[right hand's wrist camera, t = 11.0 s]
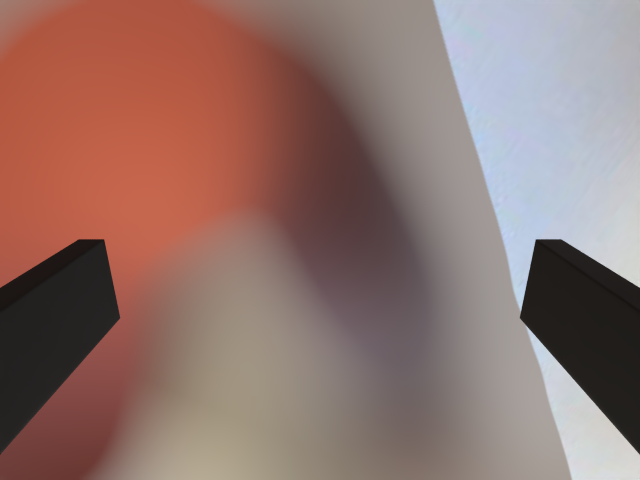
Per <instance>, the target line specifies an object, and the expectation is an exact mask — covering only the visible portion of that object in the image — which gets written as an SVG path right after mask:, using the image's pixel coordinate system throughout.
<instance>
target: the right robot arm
mask: <svg viewBox="0 0 640 480" xmlns="http://www.w3.org/2000/svg"><path fill="white" fill-rule="evenodd" d="M119 319H120V315H119V310H118V305H117V300H116V295H115V291H114V286H113V281H112V276H111V271H110V266H109V261H108V256H107V251H106V246H105V242H104V239H79V240H77V241H76V242H74V243H72V244H71V245H69V246H68V247H66V248H64V249H63V250H61V251H59V252H58V253H56V254H55V255H53V256H51V257H50V258H48V259H46V260H45V261H43V262H41V263H40V264H38V265H37V266H35V267H33V268H32V269H30V270H28V271H27V272H25V273H24V274H22V275H20V276H19V277H17V278H16V279H14V280H12V281H11V282H9V283H7V284H6V285H4V286H3V287H1V288H0V454H1V453H2V452H3V451H4V450H5V448H6V447H7V446H8V445H9V444H10V443H11V442H12V440H13V439H14V438H15V437H16V436H17V435H18V434H19V433H20V431H21V430H22V429H23V428H24V427H25V426H26V425H27V423H28V422H29V421H30V420H31V419H32V418H33V417H34V415H35V414H36V413H37V412H38V411H39V410H40V409H41V408H42V406H43V405H44V404H45V403H46V402H47V401H48V400H49V398H50V397H51V396H52V395H53V394H54V393H55V392H56V390H57V389H58V388H59V387H60V386H61V385H62V384H63V383H64V381H65V380H66V379H67V378H68V377H69V376H70V375H71V373H72V372H73V371H74V370H75V369H76V368H77V367H78V365H79V364H80V363H81V362H82V361H83V360H84V359H85V357H86V356H87V355H88V354H89V353H90V352H91V351H92V350H93V348H94V347H95V346H96V345H97V344H98V343H99V342H100V340H101V339H102V338H103V337H104V336H105V335H106V334H107V332H108V331H109V330H110V329H111V328H112V327H113V326H114V325H115V323H116V322H117V321H118V320H119ZM520 319H521V320H522V321H523V322H524V323H525V325H526V326H527V327H528V328H529V329H530V330H531V331H532V332H533V334H534V335H535V336H536V337H537V338H538V339H539V340H540V342H541V343H542V344H543V345H544V346H545V347H546V348H547V350H548V351H549V352H550V353H551V354H552V355H553V356H554V357H555V359H556V360H557V361H558V362H559V363H560V364H561V365H562V367H563V368H564V369H565V370H566V371H567V372H568V373H569V375H570V376H571V377H572V378H573V379H574V380H575V381H576V383H577V384H578V385H579V386H580V387H581V388H582V389H583V390H584V392H585V393H586V394H587V395H588V396H589V397H590V398H591V400H592V401H593V402H594V403H595V404H596V405H597V406H598V408H599V409H600V410H601V411H602V412H603V413H604V414H605V415H606V417H607V418H608V419H609V420H610V421H611V422H612V423H613V425H614V426H615V427H616V428H617V429H618V430H619V431H620V433H621V434H622V435H623V436H624V437H625V438H626V439H627V440H628V442H629V443H630V444H631V445H632V446H633V447H634V448H635V450H636V451H637V452H638V453H639V454H640V288H639V287H637V286H636V285H634V284H633V283H631V282H629V281H628V280H626V279H624V278H623V277H621V276H620V275H618V274H616V273H615V272H613V271H611V270H610V269H608V268H607V267H605V266H603V265H602V264H600V263H599V262H597V261H595V260H594V259H592V258H590V257H589V256H587V255H586V254H584V253H582V252H581V251H579V250H577V249H576V248H574V247H573V246H571V245H569V244H568V243H566V242H564V241H563V240H561V239H536V242H535V246H534V251H533V256H532V261H531V266H530V271H529V276H528V281H527V286H526V290H525V295H524V300H523V305H522V310H521V315H520Z"/></svg>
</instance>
